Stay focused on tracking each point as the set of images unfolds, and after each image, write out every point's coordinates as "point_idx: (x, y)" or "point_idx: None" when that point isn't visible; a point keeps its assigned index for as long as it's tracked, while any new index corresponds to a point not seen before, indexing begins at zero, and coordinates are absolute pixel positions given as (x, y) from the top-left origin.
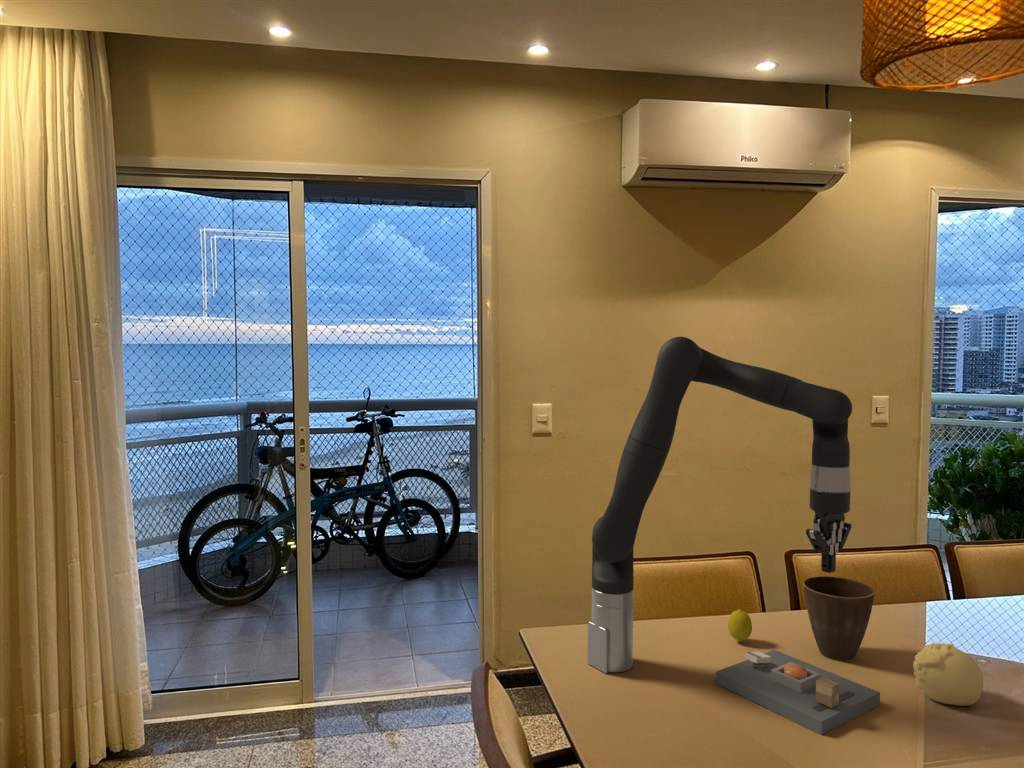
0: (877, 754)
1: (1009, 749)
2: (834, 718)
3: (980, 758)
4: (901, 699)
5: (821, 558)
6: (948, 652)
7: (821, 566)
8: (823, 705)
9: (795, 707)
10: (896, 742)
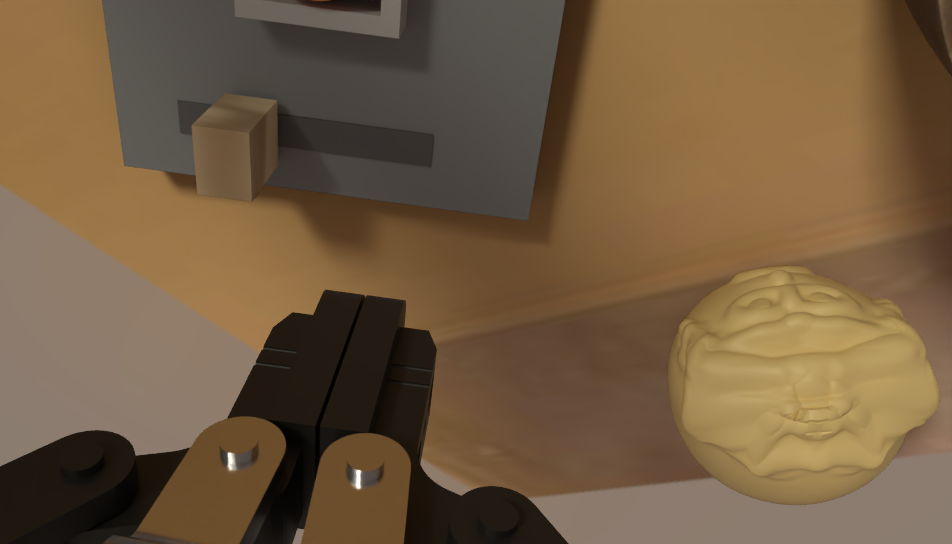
0: (205, 294)
1: (533, 488)
2: None
3: (424, 455)
4: (636, 233)
5: (242, 391)
6: (756, 474)
7: (272, 330)
8: None
9: (121, 53)
10: None
